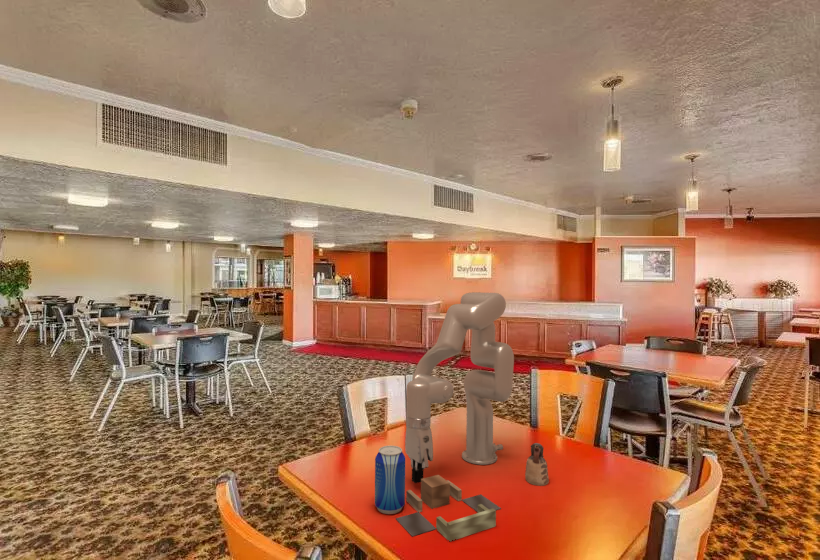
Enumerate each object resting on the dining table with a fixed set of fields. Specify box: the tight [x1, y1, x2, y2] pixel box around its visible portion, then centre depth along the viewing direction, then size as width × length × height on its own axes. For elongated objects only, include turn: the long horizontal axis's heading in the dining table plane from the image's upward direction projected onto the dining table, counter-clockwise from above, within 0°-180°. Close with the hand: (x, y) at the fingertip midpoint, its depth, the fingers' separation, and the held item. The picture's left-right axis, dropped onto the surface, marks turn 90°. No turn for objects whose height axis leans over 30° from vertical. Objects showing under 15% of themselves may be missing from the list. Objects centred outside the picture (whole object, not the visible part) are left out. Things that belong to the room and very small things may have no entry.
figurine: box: [524, 442, 550, 487], centre depth 135 cm, size 7×7×12 cm
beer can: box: [374, 445, 406, 515], centre depth 118 cm, size 8×8×16 cm
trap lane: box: [395, 479, 502, 542], centre depth 115 cm, size 28×22×4 cm
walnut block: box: [420, 474, 451, 510], centre depth 121 cm, size 6×6×6 cm
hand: (417, 481), depth 130 cm, fingers closed
